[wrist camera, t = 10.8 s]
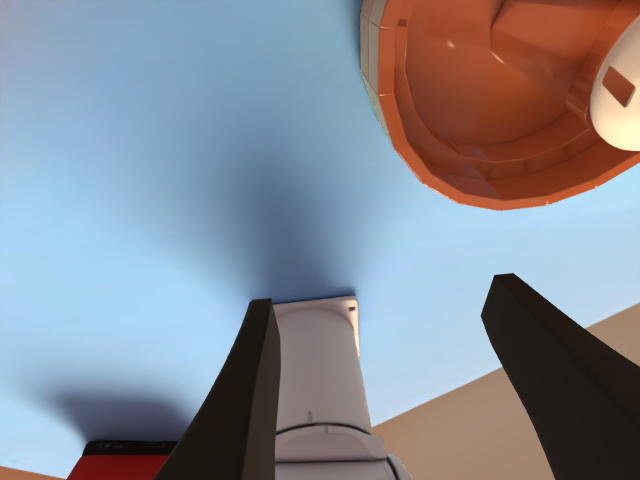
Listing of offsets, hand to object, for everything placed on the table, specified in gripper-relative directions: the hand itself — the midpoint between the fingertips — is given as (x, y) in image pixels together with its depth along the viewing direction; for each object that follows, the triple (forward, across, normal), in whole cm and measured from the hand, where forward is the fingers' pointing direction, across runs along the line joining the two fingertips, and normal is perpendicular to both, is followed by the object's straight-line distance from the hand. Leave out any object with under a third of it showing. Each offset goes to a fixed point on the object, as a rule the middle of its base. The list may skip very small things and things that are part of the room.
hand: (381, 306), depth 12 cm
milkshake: (+10, -8, -6) cm, 14 cm away
